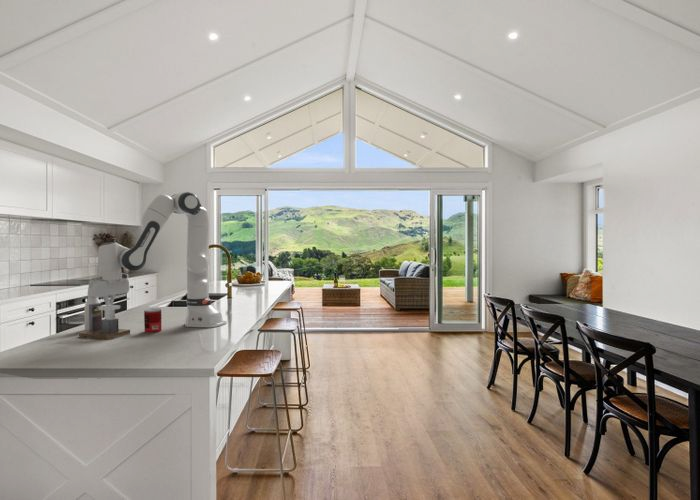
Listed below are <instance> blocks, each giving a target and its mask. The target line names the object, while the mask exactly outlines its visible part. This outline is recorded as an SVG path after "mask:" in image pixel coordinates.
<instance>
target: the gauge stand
mask: <svg viewBox="0 0 700 500" xmlns="http://www.w3.org/2000/svg"><path fill="white" fill-rule="evenodd" d="M96 306H102V303H101V302H100V303H95V304H89V331H85V330H84V331H80V332H78V338H86V339H92V340H93V339H95V340H103V341H108V340H112V339H113V340H114V339H116V338H120V337H124V336H128V335H130V334H131V329H126V328H125V329H124V328H119V318H115V319H114V320H105V318H104V319H102V320H101V315H102V316H103V311H102V312H101V310H100V311H94V309H96Z"/></svg>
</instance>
